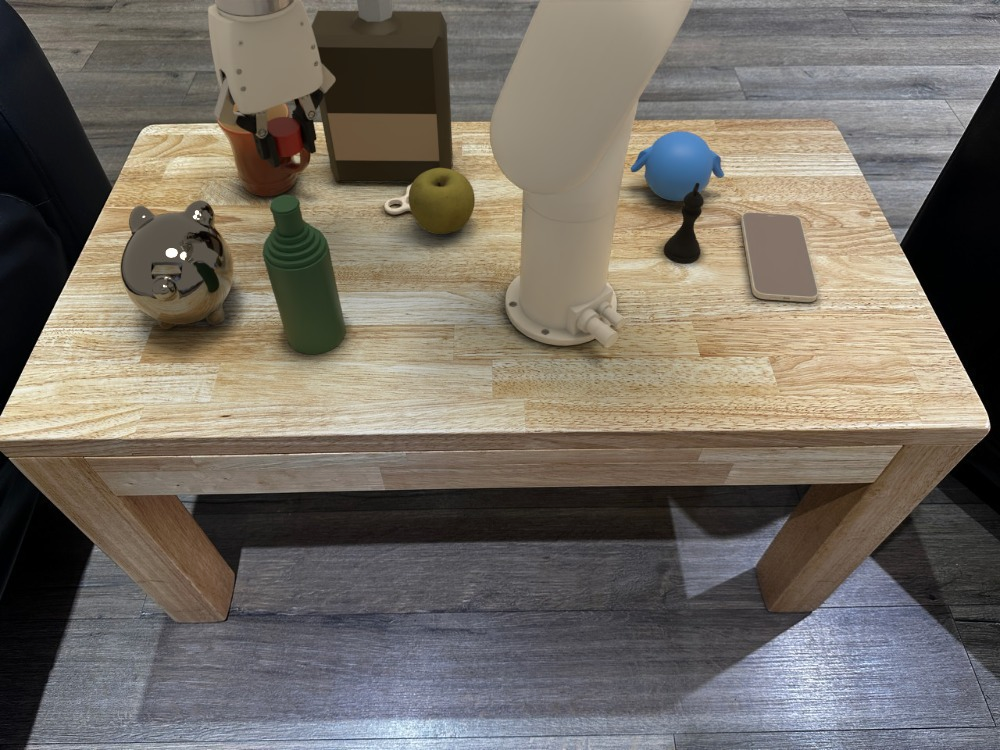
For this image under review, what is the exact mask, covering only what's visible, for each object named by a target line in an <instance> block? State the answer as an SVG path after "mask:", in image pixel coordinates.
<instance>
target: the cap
mask: <svg viewBox="0 0 1000 750" xmlns="http://www.w3.org/2000/svg"><path fill="white" fill-rule="evenodd" d="M267 128H268V131H269V132H270V133H271V134H272V135H273V137H274V139H275V144H276V148H277V152H278V156H279V157H289V156H293V155H294V156H295V155H298V154H300V153H299V152H300V151H301V150H302V149H303V146H304V145H303V139H302V134H301V128H300V124H299V122H298V121H297V120H295V119H293V118H292V117H291V116H289V117H277V118H274V119H271V120H269V121H268V122H267Z"/></svg>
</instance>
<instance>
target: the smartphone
mask: <svg viewBox="0 0 1000 750" xmlns="http://www.w3.org/2000/svg"><path fill="white" fill-rule="evenodd" d="M740 226H741V231H742V239H743V245H744V251H745V257H746V263H747V269H748V275H749V282H750V288H751V292H752V295H753V296H754V297H756V298H757V299H760V300H761V299H762V300H772V301H784V302H785V301H787V302H801V303H812V302H815V301H816V300H817V298H818V295H819V288H818V285H817V280H816V275H815V272H814V268H813V263H812V259H811V254H810V250H809V247H808V243H807V239H806V234H805V230H804V226H803V222H802V219H801V218H800V217H799V216H797V215H795V214H789V213H787V214H786V213H771V212H758V211H757V212H755V211H747V212H746V211H745V212H744V213H742V215H741V218H740Z"/></svg>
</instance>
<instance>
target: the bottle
mask: <svg viewBox="0 0 1000 750" xmlns="http://www.w3.org/2000/svg"><path fill="white" fill-rule="evenodd" d="M356 4H357V10H317V12H316V15H315V17H314V19H313V21H312V23H311V26H312V29H313V33H314V36H315V40H316V44H317V47H318V51H319V56H320V61H321V63H322V64H323V65H324V66H325V67H326V68H327V69H328V70H329V71H330V72H331V73H332V74H333V75H334V76H335V78H336V81H335V83H334V84H333V85H332V86H331V87H330V89H329V90H328V91H327V92H326V93H324V97H323V99H322V101H321V102H320V104H319V106H318V108H319V111H320V118H321V123H322V128H323V133H324V139H325V145H326V150H327V154H328V161H329V164H330V165H329V166H330V171H331V173H332V176H333V178H334V180H335V182H337V183H339V182H341V183H413V181H414V180H415V179H416V178H417V177H418V176H419V175H420V174H422V173H423V172H425V171H428V170H430V169H434V168H446V169H451V170H453V169H452V168H453V167H452V166H453V156H454V155H453V153H454V152H453V134H452V133H453V132H452V111H451V109H452V108H451V90H450V66H449V43H448V25H447V24H448V23H447V22H446V19H445V17H444V15H443V13H442V11H414V10H413V11H409V10H408V11H404V10H403V11H402V10H401V11H399V10H398V11H397V10H396V11H395V10H393V3H392V0H356Z"/></svg>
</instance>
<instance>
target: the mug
mask: <svg viewBox="0 0 1000 750" xmlns="http://www.w3.org/2000/svg"><path fill="white" fill-rule="evenodd" d="M233 111H239V110H238V108H237V105H236V103H235V105H234V108H233ZM277 117H290V108H289V106H288V104H287V102H286V103H283V104H281V105H278V106H275V107H272V108H269V109H267V122H268V121H269V120H271V119H274V118H277ZM216 122H217V125H218V127H219V128H220V130H221V131H222V132H223V134H224V135H225V137H226V139H227V141H228V142H229V145H230V149H231V152H232V156H233V161H234V163H235V168H236V172H237V176H238V178H239V181H240V182H241V184H242V185H243V188H244V189H245V190H246V191H247V192H249V193H250V194H253V195H255V196H259V197H274V196H280V195H281V194H282V195H283V194H284V193H286V192H287V191H289V190H290V189H292V187H293V186H294V185H295V184H296V181H297V174H299V173H302V172H304V171H305V170H306V169H307V168H308V167H309V165H310V163H311V157H312V155H311V153H309V152H308V151H306V150H305V149H304V148H303V149H302V150H301V151H300V152H299V153H298V154H299V162H297V161H296V160H295V155H293V156H289V157H279V156H278V157H279V161H280V165H279V167H277V168H273V167H272V166H271V165H270V164H269V163H268V162H267V161H266V160H262V159H261V158H260V157H259V155H258V153H257V149H256V145H255V141H254V137H253V133H251V132H248V131H246V130H244V129H242V128H240V127H239V126H232V125H228V124H223V123H220V122H219V121H218V120H217V119H216Z"/></svg>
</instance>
